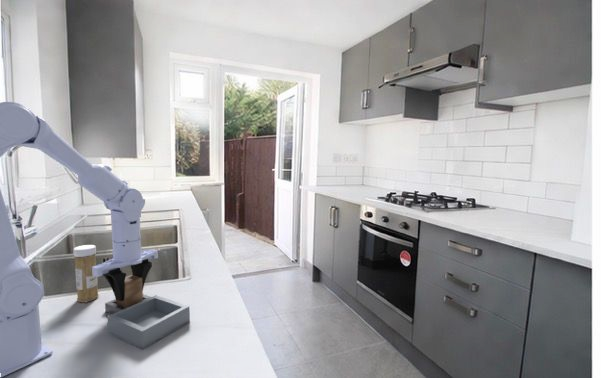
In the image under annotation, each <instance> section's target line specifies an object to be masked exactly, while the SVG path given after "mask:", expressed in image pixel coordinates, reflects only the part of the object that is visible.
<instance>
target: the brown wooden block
mask: <svg viewBox="0 0 601 378" xmlns="http://www.w3.org/2000/svg"><path fill="white" fill-rule="evenodd" d="M143 290H144V287H143V288H142V278H140V277H137V276H134V275H133V274H131V275H126V277H125V282H124V300H123V301H118V300H116V304H117V305H120V306H123V307H125V308H126V307H129V306H131V305H133V304H135V303H138V302H140V301H142V300H143V294H144V292H143Z"/></svg>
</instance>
